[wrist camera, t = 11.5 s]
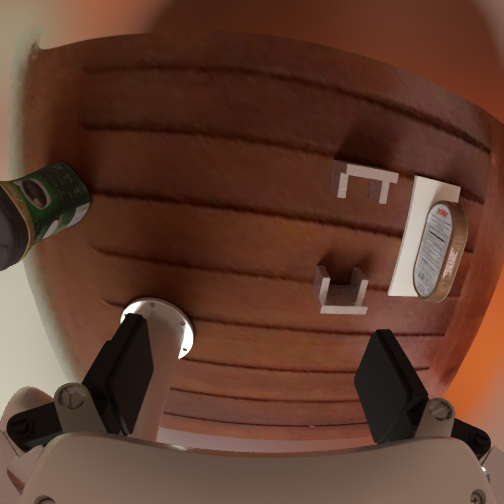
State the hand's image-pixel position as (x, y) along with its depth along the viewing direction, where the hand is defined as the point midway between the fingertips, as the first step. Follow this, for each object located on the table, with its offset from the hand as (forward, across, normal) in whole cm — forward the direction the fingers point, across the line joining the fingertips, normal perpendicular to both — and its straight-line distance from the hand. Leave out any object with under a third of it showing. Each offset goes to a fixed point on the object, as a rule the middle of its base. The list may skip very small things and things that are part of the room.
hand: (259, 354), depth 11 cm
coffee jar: (+28, +28, 0) cm, 40 cm away
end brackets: (+28, -13, +3) cm, 31 cm away
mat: (+28, -27, +3) cm, 39 cm away
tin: (+28, -26, +3) cm, 38 cm away
